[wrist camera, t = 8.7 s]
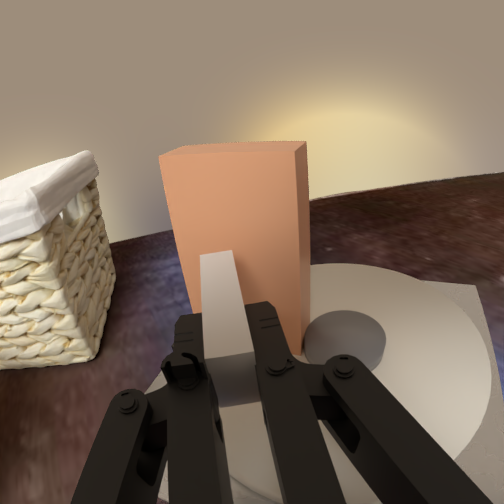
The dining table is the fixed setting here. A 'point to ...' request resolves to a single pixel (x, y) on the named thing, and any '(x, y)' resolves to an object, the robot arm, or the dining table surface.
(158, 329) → the dining table surface
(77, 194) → the storage basket
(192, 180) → the dial
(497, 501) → the base plate
